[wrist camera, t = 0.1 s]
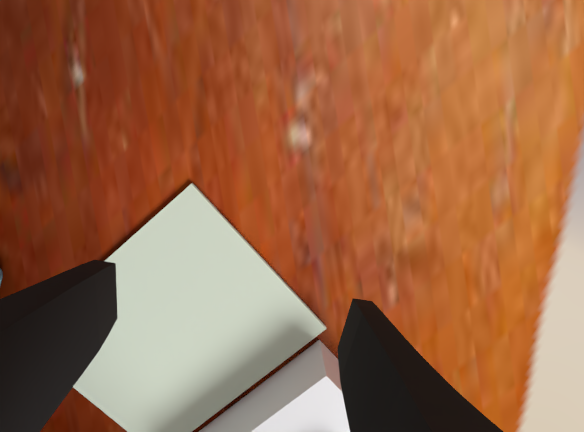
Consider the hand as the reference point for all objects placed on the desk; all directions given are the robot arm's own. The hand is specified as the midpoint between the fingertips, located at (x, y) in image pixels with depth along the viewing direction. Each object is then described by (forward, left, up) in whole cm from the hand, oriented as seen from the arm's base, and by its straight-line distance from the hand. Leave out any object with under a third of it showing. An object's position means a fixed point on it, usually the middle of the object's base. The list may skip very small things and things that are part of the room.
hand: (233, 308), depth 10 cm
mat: (-9, -2, -11) cm, 14 cm away
